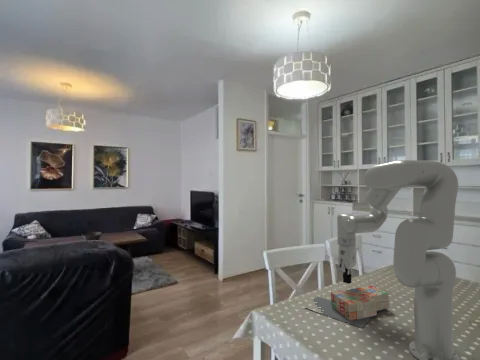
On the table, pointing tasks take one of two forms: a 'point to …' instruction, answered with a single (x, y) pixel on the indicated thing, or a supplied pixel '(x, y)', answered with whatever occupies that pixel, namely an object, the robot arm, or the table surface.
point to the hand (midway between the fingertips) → (347, 282)
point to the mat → (335, 314)
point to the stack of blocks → (360, 302)
